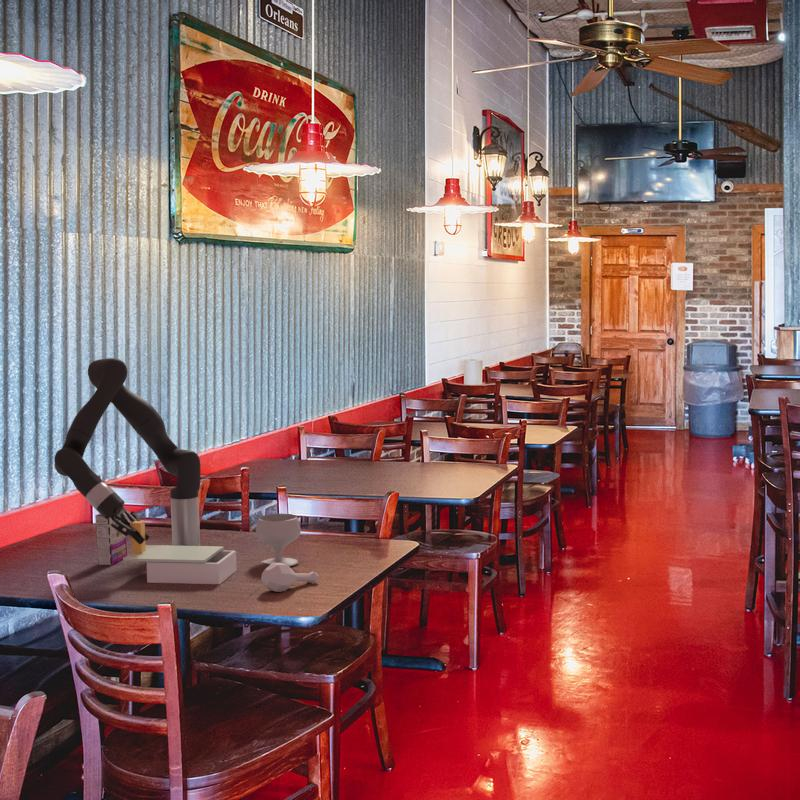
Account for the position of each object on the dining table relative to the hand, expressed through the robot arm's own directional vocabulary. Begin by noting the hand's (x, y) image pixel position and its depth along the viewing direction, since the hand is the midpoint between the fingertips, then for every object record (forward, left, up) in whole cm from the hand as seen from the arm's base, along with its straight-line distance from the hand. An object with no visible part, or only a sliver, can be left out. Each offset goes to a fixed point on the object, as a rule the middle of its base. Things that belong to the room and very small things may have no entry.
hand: (145, 540), depth 310 cm
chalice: (-20, +36, -12) cm, 42 cm away
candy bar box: (-19, -19, -12) cm, 30 cm away
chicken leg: (+6, +46, -12) cm, 48 cm away
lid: (0, +9, -4) cm, 10 cm away
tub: (0, +15, -11) cm, 19 cm away
